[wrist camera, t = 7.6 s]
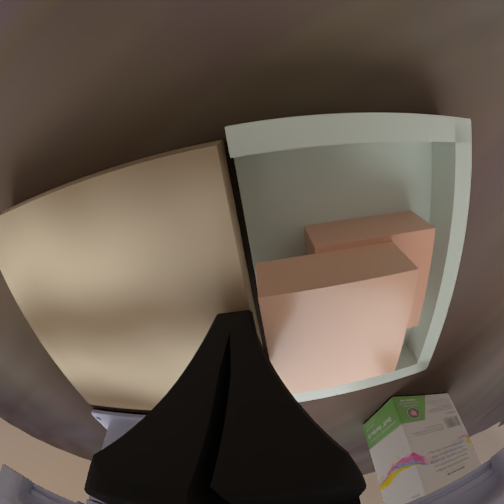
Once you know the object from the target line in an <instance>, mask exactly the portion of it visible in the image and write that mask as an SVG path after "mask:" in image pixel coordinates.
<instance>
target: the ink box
mask: <svg viewBox="0 0 504 504" xmlns="http://www.w3.org/2000/svg"><path fill="white" fill-rule="evenodd" d="M363 429H364V432H365V436H366V439H367V442H368V446H369V450H370V453H371V457H372V460H373V464H374V468H375V471H376V475H377V479H378V483H379V486H380V490H381V494H382V498H383V503H384V504H406V503H408V502H411V501H413V500H416V499H418V498H420V497H423V496H425V495H427V494H429V493H431V492H434V491H436V490H438V489H440V488H442V487H444V486H446V485H448V484H450V483H452V482H453V481H455V480H457V479H459V478H461V477H462V476H464V475H466V474H468V473H469V472H471V471H473V470H474V469H476V468H478V467H479V466H481V464H480V461H479V459H478V457H477V454H476V452H475V449H474V447H473V445H472V443H471V440H470V438H469V436H468V434H467V431H466V429H465V427H464V425H463V423H462V421H461V418H460V416H459V414H458V412H457V410H456V408H455V406H454V404H453V402H452V400H451V398H450V396H449V395H448V393H443V394H433V395H420V396H401V397H392V398H390V399H389V400H388V402H387V403H385V405H384V406H383V407H382V408H381V409H380V410H378V411H377V412H376V413H375V414H374V415H373V416H372V417H371V418H370V419H369V420H368V421H367V422H366V423H365V424H364V425H363Z"/></svg>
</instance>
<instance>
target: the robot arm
mask: <svg viewBox="0 0 504 504" xmlns="http://www.w3.org/2000/svg"><path fill="white" fill-rule="evenodd" d="M91 414H92V415H93V416H94V417H95V418H96V419H97V420H98V421H99V422H100V423H101V424H102V425H103V426H104V427H105V428H106V429H107V432H106V436H105V439H104V442H103V446H102V449H101V451H99V452H98V453H96V454H94V456H93V459H92V462H91V465H90V469H89V472H88V476H87V480H86V484H85V488H84V489H85V491H86V493H87V494H89V495H90V496H89V500H87V502H86V504H360V499H359V496H360V495H361V494H362V492H363V491H364V490H365V489H366V483H365V480H364V477H363V475H362V473H361V471H360V470H359V468H358V467H357V465H356V463H355V462H354V461H353V459H352V458H351V456H350V455H349V453H348V452H347V451H346V450H345V449H344V448H343V447H341V446H340V445H339V444H338V443H337V442H336V441H334V440H333V439H332V438H331V437H330V436H329V435H328V434H327V433H326V432H325V431H324V430H323V429H322V428H321V427H320V426H319V425H318V424H317V423H316V422H315V421H314V420H313V419H312V418H311V417H310V416H309V414H308V413H307V412H306V411H305V410H304V409H303V408H302V406H301V405H300V404H299V403H298V402H297V401H296V399H295V398H294V397H293V395H292V394H291V393H290V391H289V390H288V389H287V387H286V386H285V384H284V383H283V381H282V380H281V378H280V377H279V375H278V374H277V372H276V371H275V369H274V367H273V365H272V364H271V362H270V360H269V358H268V356H267V354H266V353H265V350H264V348H263V346H262V344H261V342H260V339H259V337H258V334H257V330H256V326H255V321H254V316H253V312H252V311H250V310H244V311H236V312H228V313H220V314H217V315H216V317H215V319H214V321H213V323H212V325H211V327H210V329H209V331H208V332H207V334H206V336H205V338H204V340H203V342H202V343H201V345H200V347H199V348H198V350H197V352H196V353H195V355H194V357H193V358H192V360H191V361H190V363H189V364H188V366H187V367H186V369H185V370H184V372H183V373H182V375H181V376H180V377H179V379H178V380H177V381H176V383H175V384H174V385H173V386H172V388H171V389H170V390H169V391H168V393H167V394H166V395H165V396H164V397H163V398H162V399H161V400H160V402H159V403H158V404H157V405H156V406H155V407H154V408H153V409H152V410H151V411H150V412H149V413H148V414H147V415H140V414H128V413H118V412H109V411H102V410H92V412H91ZM0 504H84V503H82V502H79V501H78V502H76V503H75V502H73V501H70V500H68V499H66V498H64V497H61V496H59V495H57V494H55V493H52V492H50V491H48V490H46V489H44V488H42V487H40V486H38V485H36V484H35V483H33V482H32V481H30V480H29V479H27V478H26V477H24V476H23V475H21V474H19V473H18V472H16V471H14V470H13V469H11V468H10V467H8V466H6V465H2V468H1V471H0ZM406 504H504V448H503V449H501V450H500V451H499V452H498V453H496V454H495V455H494V456H493V457H491V459H490V460H489V461H487V462H485V463H484V464H482V465H481V466H479V467H478V468H476V469H474V470H473V471H471V472H469V473H468V474H466V475H464V476H462V477H461V478H459V479H457V480H455V481H453V482H452V483H450V484H448V485H446V486H444V487H442V488H440V489H438V490H436V491H434V492H431V493H429V494H427V495H425V496H423V497H420V498H418V499H416V500H413V501H411V502H408V503H406Z"/></svg>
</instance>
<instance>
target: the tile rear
mask: <svg viewBox="0 0 504 504" xmlns="http://www.w3.org/2000/svg"><path fill="white" fill-rule="evenodd" d="M435 229H436V228H435V227H434V226H432V225H431V224H430V223H428V222H427V221H425V220H424V219H423V218H421V217H420V216H418V215H417V214H416V213H414V212H413V211H403V212H396V213H388V214H381V215H374V216H367V217H359V218H352V219H345V220H338V221H332V222H325V223H318V224H311V225H305V226H304V233H305V244H306V255H311V254H317V253H324V252H330V251H336V250H342V249H349V248H355V247H361V246H367V245H373V244H379V243H385V242H391V241H392V242H393V243H394V244H395V245H396V246H397V247H398V248H399V249H400V250H401V251H402V252H403V253H404V254H405V255H406V256H407V257H408V258H409V259H410V260H411V261H412V262H413V263H414V264H415V265H416V266H417V268H418V269H419V271H418V277H417V283H416V288H415V294H414V299H413V304H412V308H411V313H410V317H409V322H408V326H407V328H410V327H414V326H417V325H418V323H419V319H420V315H421V311H422V306H423V302H424V297H425V293H426V288H427V283H428V277H429V272H430V266H431V260H432V253H433V246H434V238H435Z"/></svg>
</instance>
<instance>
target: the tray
mask: <svg viewBox="0 0 504 504" xmlns="http://www.w3.org/2000/svg"><path fill="white" fill-rule="evenodd" d="M225 133H226V138H227V144H228V149H229V154H230V158H234V162H235V167H236V173H237V179H238V184H239V190H240V195H241V201H242V206H243V212H244V217H245V223H246V228H247V234H248V239H249V245H250V250H251V256H252V261H253V267H254V272H255V278H256V283H257V276H256V263H259V262H265V261H272V260H278V259H285V258H291V257H298V256H304V255H306V244H305V233H304V226H305V225H311V224H318V223H325V222H332V221H338V220H345V219H352V218H359V217H367V216H374V215H381V214H388V213H396V212H403V211H413V212H414V213H416V214H417V215H418V216H420V217H421V218H423V219H424V220H425V221H427V222H428V223H430V224H431V225H432V226H434V227H435V228H436V229H435V238H434V246H433V253H432V260H431V266H430V272H429V277H428V283H427V288H426V293H425V297H424V302H423V306H422V311H421V315H420V319H419V323H418V325H417V326H414V327H410V328H407V330H406V334H405V338H404V341H403V345H402V349H401V352H400V356H399V359H398V362H397V366H396V369H395V371H394V372H390V373H387V374H383V375H380V376H376V377H372V378H368V379H365V380H361V381H356V382H352V383H348V384H344V385H339V386H334V387H329V388H324V389H319V390H314V391H308V392H302V393H296V394H292V395H293V397H294V398H295V399H296V401H297V402H303V401H309V400H315V399H320V398H325V397H330V396H335V395H340V394H344V393H348V392H353V391H357V390H361V389H365V388H369V387H372V386H376V385H380V384H383V383H387V382H390V381H393V380H396V379H400V378H403V377H406V376H409V375H412V374H415V373H418V372H421V371H423V370H426V369H427V367H428V365H429V362H430V360H431V357H432V355H433V352H434V350H435V347H436V344H437V341H438V339H439V336H440V333H441V330H442V327H443V324H444V321H445V318H446V315H447V311H448V308H449V305H450V301H451V298H452V294H453V290H454V286H455V282H456V278H457V274H458V269H459V265H460V260H461V255H462V250H463V244H464V238H465V232H466V225H467V217H468V209H469V199H470V186H471V166H472V135H471V119H467V118H460V117H453V116H444V115H434V114H420V113H398V112H353V113H330V114H315V115H303V116H293V117H283V118H275V119H267V120H260V121H253V122H247V123H241V124H235V125H229V126H226V127H225Z"/></svg>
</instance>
